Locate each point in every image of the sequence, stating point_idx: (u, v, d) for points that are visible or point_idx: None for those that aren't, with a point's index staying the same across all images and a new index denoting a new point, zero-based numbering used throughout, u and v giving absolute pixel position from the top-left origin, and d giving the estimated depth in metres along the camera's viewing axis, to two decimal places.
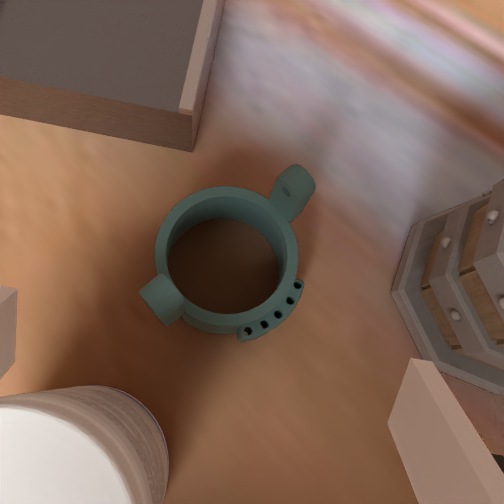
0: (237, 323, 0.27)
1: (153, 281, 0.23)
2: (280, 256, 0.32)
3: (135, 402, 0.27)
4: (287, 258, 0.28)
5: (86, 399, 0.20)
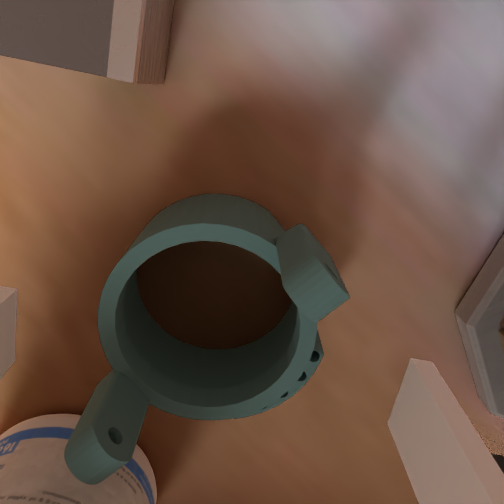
0: (222, 417, 0.20)
1: (82, 442, 0.16)
2: None
3: None
4: (299, 334, 0.18)
5: None
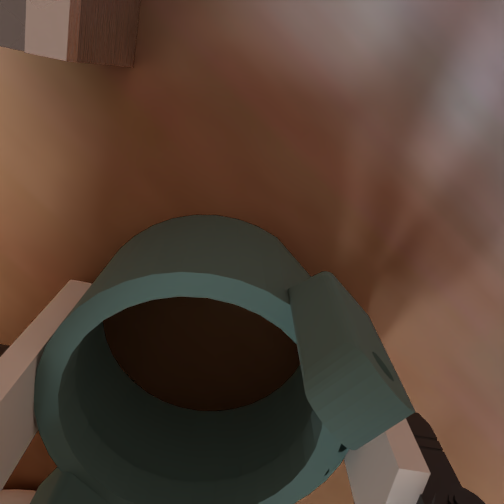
0: None
1: None
2: None
3: None
4: (322, 422, 0.13)
5: None
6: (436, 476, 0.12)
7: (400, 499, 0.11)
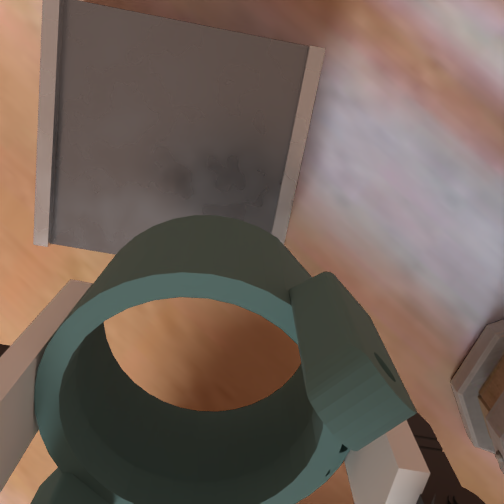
0: None
1: None
2: None
3: None
4: (322, 423, 0.13)
5: None
6: (436, 476, 0.12)
7: (400, 499, 0.11)
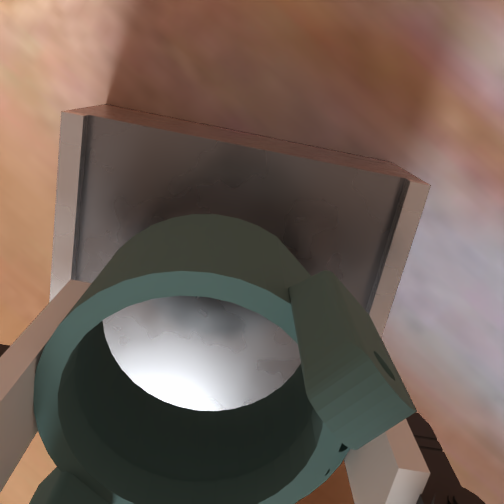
0: None
1: None
2: None
3: None
4: (322, 422, 0.13)
5: None
6: (436, 476, 0.12)
7: (400, 499, 0.11)
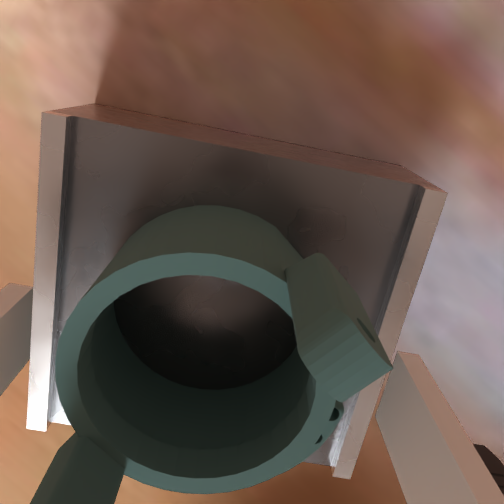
0: (216, 491, 0.16)
1: None
2: None
3: None
4: (315, 391, 0.14)
5: None
6: None
7: None
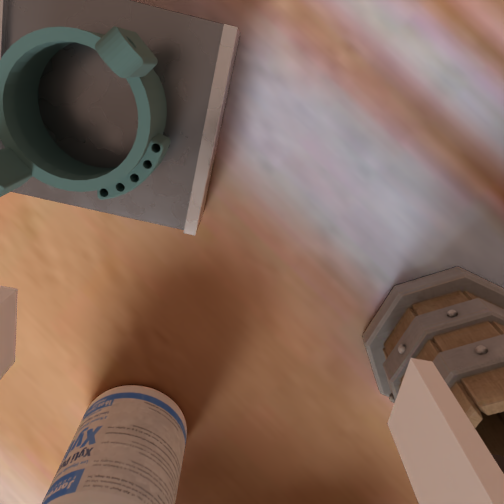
0: (86, 190, 0.27)
1: None
2: None
3: (162, 411, 0.41)
4: (139, 122, 0.25)
5: (127, 478, 0.34)
6: None
7: None
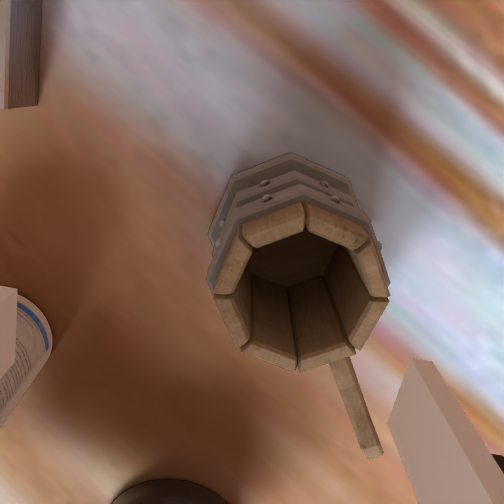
0: None
1: None
2: None
3: None
4: None
5: None
6: None
7: None
